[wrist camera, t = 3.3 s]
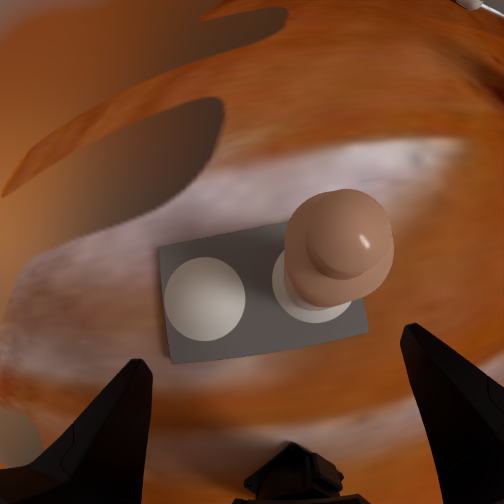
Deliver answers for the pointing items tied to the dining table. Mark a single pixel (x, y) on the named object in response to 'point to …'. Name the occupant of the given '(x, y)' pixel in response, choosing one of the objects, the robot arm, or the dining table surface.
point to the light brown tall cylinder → (336, 249)
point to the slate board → (241, 300)
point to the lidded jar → (470, 4)
